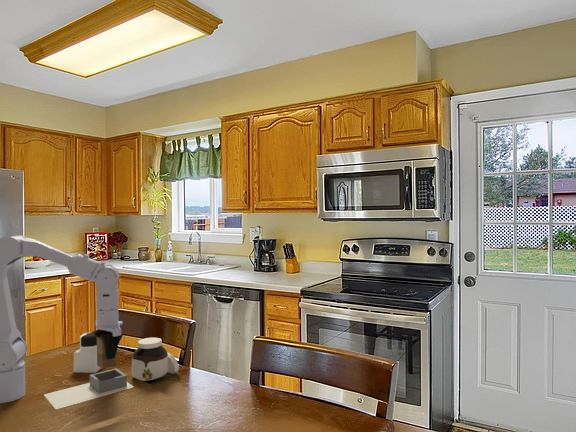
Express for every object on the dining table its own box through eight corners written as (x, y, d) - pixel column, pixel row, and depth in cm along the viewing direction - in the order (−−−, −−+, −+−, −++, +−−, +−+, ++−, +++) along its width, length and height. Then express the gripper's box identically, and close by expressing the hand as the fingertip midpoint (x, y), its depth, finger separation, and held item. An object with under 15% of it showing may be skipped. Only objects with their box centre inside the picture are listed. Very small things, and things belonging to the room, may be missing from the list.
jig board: (55, 413, 106) (55, 397, 106) (43, 398, 115) (43, 383, 115) (134, 390, 120) (134, 376, 120) (117, 378, 129) (117, 365, 129)
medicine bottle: (107, 367, 138) (106, 330, 138) (95, 376, 131) (94, 337, 131) (86, 367, 139) (86, 330, 139) (73, 375, 132) (72, 336, 131)
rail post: (102, 369, 118) (101, 340, 118) (97, 365, 121) (96, 337, 121) (116, 365, 120) (116, 337, 120) (111, 361, 123) (110, 334, 123)
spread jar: (127, 382, 125) (127, 343, 125) (149, 369, 136) (148, 332, 136) (164, 386, 123) (164, 346, 123) (183, 372, 134) (182, 335, 134)
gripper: (131, 310, 118) (132, 359, 118) (112, 302, 129) (112, 347, 129) (105, 314, 113) (106, 365, 113) (87, 306, 124) (88, 352, 124)
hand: (108, 356), depth 121 cm, fingers closed on rail post, 4 cm apart
